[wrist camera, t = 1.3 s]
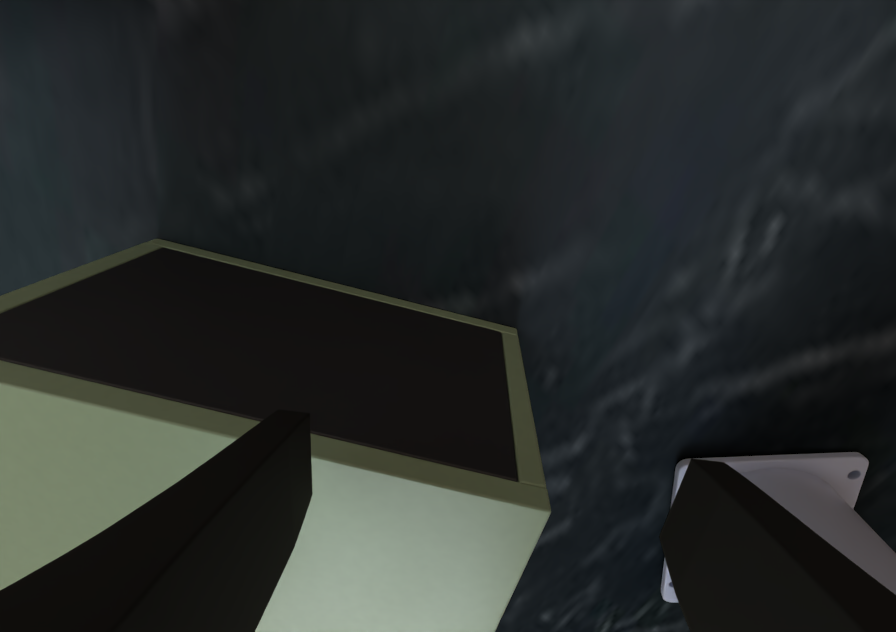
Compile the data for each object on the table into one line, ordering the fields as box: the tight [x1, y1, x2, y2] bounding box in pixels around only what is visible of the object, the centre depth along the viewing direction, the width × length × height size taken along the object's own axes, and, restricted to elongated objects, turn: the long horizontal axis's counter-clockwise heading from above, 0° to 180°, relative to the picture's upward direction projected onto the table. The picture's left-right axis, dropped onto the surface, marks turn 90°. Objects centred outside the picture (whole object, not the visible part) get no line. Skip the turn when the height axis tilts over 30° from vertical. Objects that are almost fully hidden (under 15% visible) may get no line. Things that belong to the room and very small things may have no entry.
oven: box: [0, 238, 551, 632], centre depth 16 cm, size 12×15×10 cm
